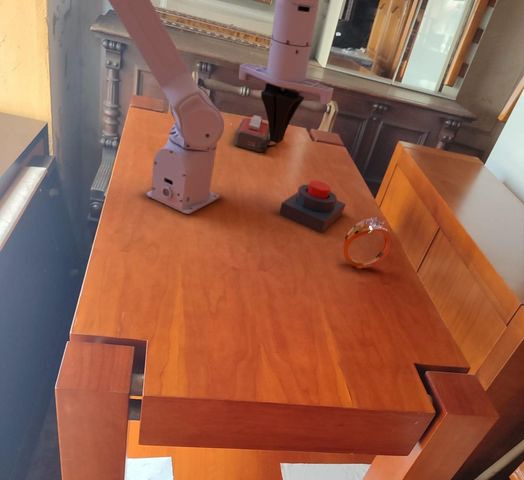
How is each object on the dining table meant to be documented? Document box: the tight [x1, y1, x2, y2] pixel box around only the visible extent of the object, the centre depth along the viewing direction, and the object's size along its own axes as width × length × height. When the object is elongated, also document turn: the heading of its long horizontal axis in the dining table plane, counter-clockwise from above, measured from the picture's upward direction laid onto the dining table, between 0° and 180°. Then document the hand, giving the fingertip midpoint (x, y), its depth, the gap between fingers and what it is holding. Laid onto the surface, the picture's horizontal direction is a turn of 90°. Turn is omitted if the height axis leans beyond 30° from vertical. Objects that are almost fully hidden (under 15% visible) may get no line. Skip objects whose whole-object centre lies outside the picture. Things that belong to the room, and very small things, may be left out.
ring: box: [342, 216, 392, 270], centre depth 71 cm, size 7×3×8 cm, turn 93°
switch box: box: [278, 184, 346, 234], centre depth 83 cm, size 10×8×4 cm
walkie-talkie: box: [233, 114, 277, 153], centre depth 107 cm, size 9×4×20 cm
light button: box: [307, 180, 331, 199], centre depth 81 cm, size 4×4×2 cm
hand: (276, 140), depth 77 cm, fingers closed
